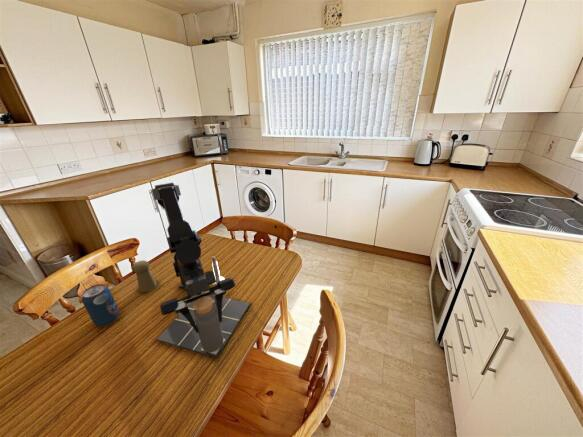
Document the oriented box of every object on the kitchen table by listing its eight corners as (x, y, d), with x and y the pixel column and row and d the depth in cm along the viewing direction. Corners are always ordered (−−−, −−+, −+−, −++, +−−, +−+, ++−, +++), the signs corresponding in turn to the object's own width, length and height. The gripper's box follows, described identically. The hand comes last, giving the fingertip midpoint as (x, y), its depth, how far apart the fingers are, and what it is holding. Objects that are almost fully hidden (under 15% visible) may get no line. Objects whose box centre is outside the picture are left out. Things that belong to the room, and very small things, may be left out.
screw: (212, 282, 92) (225, 279, 93) (212, 290, 88) (226, 287, 89) (206, 254, 86) (219, 251, 88) (206, 261, 82) (220, 258, 83)
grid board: (157, 340, 69) (156, 339, 69) (200, 293, 86) (199, 292, 86) (217, 358, 63) (216, 356, 63) (250, 304, 81) (249, 302, 80)
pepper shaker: (135, 289, 89) (125, 265, 85) (149, 280, 94) (141, 256, 90) (146, 293, 87) (137, 269, 82) (160, 283, 92) (152, 259, 88)
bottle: (222, 350, 64) (213, 310, 58) (200, 354, 64) (188, 313, 57) (224, 332, 70) (216, 293, 63) (204, 335, 69) (193, 296, 62)
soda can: (121, 320, 76) (108, 291, 71) (94, 332, 72) (78, 302, 67) (119, 307, 81) (107, 279, 76) (94, 317, 78) (79, 289, 72)
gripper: (150, 278, 55) (167, 347, 51) (228, 253, 64) (248, 310, 60) (156, 285, 64) (171, 344, 61) (223, 262, 73) (241, 312, 69)
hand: (209, 327), depth 62 cm, fingers closed on bottle, 6 cm apart
